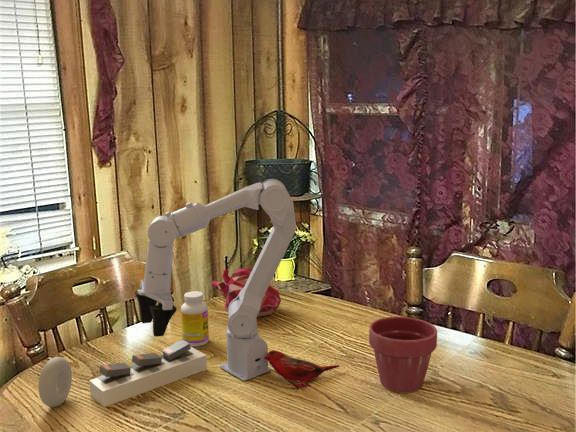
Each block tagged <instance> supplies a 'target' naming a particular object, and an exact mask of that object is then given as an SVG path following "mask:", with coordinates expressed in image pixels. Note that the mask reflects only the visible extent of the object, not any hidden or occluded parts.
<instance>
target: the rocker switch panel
mask: <svg viewBox="0 0 576 432" xmlns="http://www.w3.org/2000/svg"><path fill="white" fill-rule="evenodd" d="M159 356H160V357H162V361H161V364H153V365H145V366H138V365H136V364H135V363H134V364H132V365H129V367H130V368H131V371H130V374H127V375H119V376H111V377H105V376H104V375H103V374H101V375H99V376H97V377H95V378H92V379H89V382H88V383H89V391H90V396H91V397H92V398H93V400H95V401H97V402H98V404H100V405H101V406H102V407H103V408H106V407H108V406H111V405H113V404H117V403H119V402H121V401H122V402H123V401H125V400H128V399H130V398H133V397H136V396H138V395H142V394H144V393H147V392H149V391H152V390H155V389H157V388H161V387H163V386H166V385H168V384H171V383H174V382H177V381H179V380H183V379H185V378H187V377H190V376H192V375H195V374H197V373H198V374H199V373H201V372H204V371H206V370H208V360H207V354H205V353H203V352H201V351H200V350H198V349H196V348H195V347H191V349H190V350H188V351H186V352H184V353H183V354H181V355H179V356H177V357H176V358H174V359H172V360H169V359H168V358H166V357H165V356H163V354H162V355H159Z"/></svg>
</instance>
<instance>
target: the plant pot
mask: <svg viewBox="0 0 576 432" xmlns="http://www.w3.org/2000/svg"><path fill="white" fill-rule="evenodd" d="M368 343H369V345H370V347H371V348H372V349H373V352H374V359H375V364H376V367H377V372H378V376H379V381H380V384H381V385H382V386H383V388H385V389H387V390H389V391H391V392H394V393H395V392H396V393H403V394H404V393H405V394H407V393H413V392H417V391H419V390H421V389H422V387H423V385H424V382H425V378H426V375H427V371H428V368H429V364H430V360H431V355H432V353H433V352H434V351H435V350H436V349H437V346H438V345H437V344H438V330H437V327H436V326H435V325H433V324H432V323H430V322H428V321H426V320H423V319H419V318H415V317H408V316H388V317H381V318H379V319H376V320H374V321H372V323H371V324H370V325H369V330H368Z"/></svg>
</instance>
